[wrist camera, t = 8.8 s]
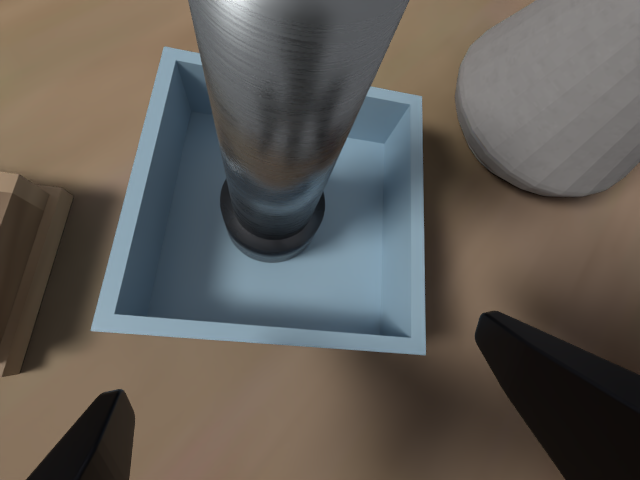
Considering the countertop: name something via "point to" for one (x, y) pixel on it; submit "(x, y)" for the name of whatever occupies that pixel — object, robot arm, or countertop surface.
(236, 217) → the grey rounded cylinder
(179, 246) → the bin
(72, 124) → the countertop surface
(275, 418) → the countertop surface
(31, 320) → the socket block
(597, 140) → the coffee pot
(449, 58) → the countertop surface
